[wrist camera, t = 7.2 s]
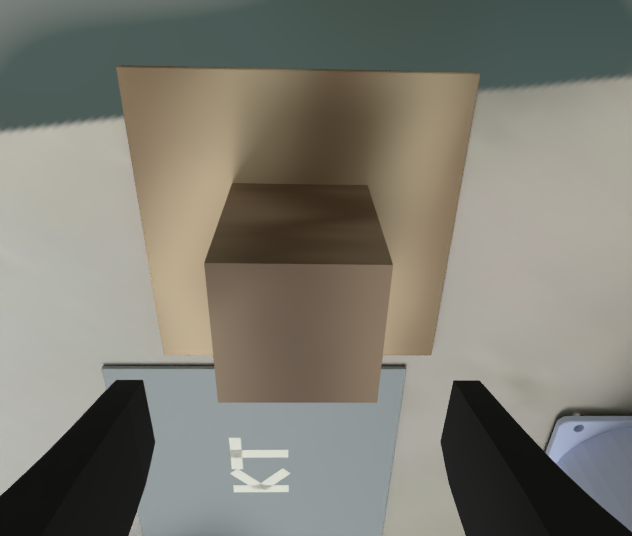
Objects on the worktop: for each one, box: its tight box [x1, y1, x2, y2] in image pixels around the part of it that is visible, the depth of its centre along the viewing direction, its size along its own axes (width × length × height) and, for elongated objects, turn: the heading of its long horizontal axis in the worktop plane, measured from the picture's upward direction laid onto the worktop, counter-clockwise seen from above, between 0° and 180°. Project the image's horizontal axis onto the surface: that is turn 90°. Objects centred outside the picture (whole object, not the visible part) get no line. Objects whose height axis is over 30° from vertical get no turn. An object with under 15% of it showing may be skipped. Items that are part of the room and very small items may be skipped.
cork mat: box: [116, 65, 480, 355], centre depth 20 cm, size 12×12×1 cm
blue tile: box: [102, 366, 406, 536], centre depth 27 cm, size 14×14×1 cm
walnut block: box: [204, 183, 393, 403], centre depth 17 cm, size 5×5×6 cm
